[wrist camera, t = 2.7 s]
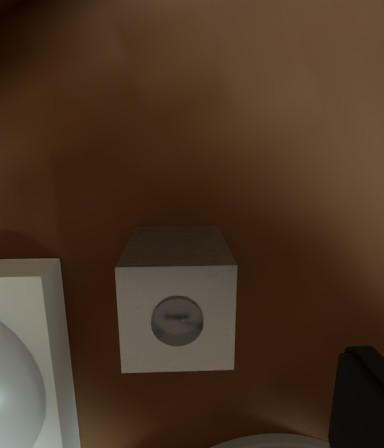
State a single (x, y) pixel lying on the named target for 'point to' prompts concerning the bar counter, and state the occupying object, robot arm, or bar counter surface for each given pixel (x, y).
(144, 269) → the grey block with knob
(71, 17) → the bar counter surface
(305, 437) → the dog bowl
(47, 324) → the scale
